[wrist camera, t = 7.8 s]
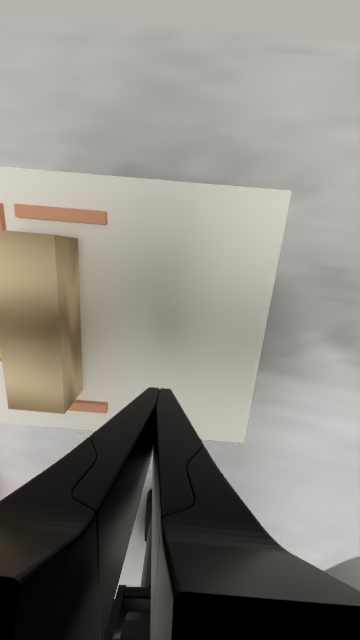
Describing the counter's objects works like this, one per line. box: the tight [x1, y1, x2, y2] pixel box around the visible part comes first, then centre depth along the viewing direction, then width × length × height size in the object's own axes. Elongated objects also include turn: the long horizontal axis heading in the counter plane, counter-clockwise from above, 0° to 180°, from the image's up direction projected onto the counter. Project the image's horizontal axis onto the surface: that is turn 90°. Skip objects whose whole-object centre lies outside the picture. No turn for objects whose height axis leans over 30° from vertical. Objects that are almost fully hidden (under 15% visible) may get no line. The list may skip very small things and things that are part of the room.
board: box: [0, 167, 292, 443], centre depth 18 cm, size 20×30×1 cm, turn 85°
